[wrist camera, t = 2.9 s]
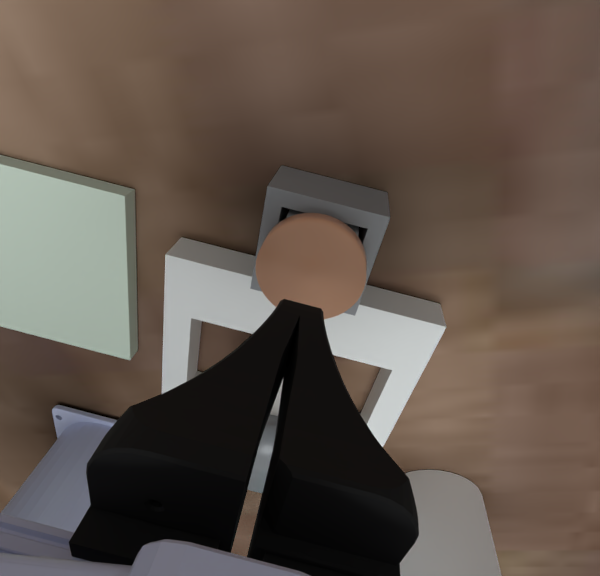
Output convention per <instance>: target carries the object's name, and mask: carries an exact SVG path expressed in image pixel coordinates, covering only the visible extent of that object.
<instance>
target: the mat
mask: <svg viewBox="0 0 600 576" xmlns="http://www.w3.org/2000/svg"><path fill="white" fill-rule="evenodd" d="M0 326H1V327H5V328H8V329H12V330H16V331H20V332H24V333H28V334H31V335H35V336H39V337H43V338H47V339H51V340H54V341H58V342H62V343H66V344H70V345H73V346H77V347H81V348H85V349H89V350H93V351H96V352H100V353H104V354H108V355H112V356H116V357H119V358H123V359H127V360H131V359H132V357H133V356H134V355H135V353H136V352H137V351H138V323H137V271H136V219H135V189H132V188H128V187H124V186H120V185H116V184H112V183H108V182H105V181H101V180H97V179H93V178H89V177H85V176H81V175H77V174H73V173H70V172H66V171H62V170H58V169H54V168H50V167H46V166H42V165H38V164H35V163H31V162H27V161H23V160H19V159H15V158H11V157H7V156H3V155H0Z"/></svg>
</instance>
